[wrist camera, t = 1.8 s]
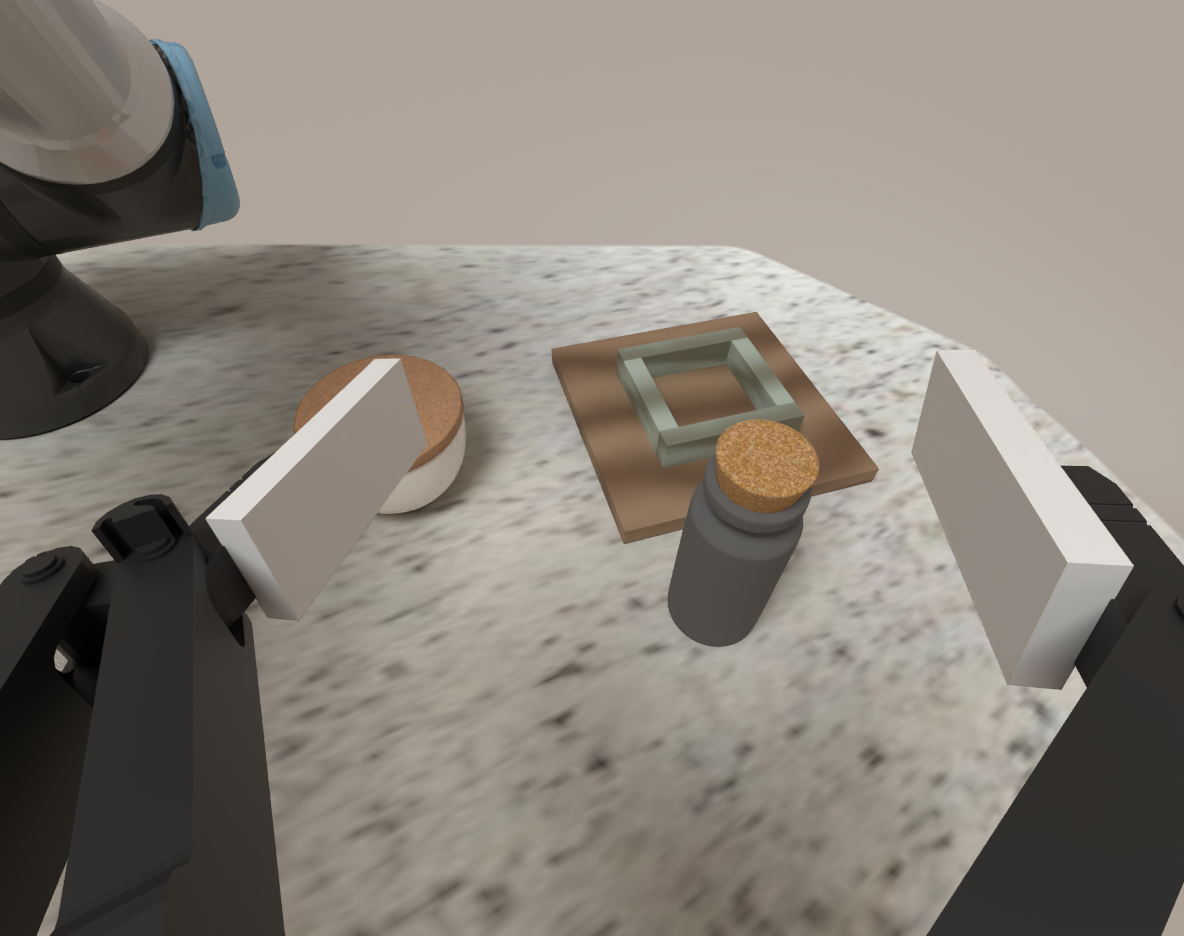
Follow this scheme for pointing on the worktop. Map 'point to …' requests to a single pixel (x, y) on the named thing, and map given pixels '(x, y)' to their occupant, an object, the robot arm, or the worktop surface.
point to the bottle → (741, 530)
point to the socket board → (691, 413)
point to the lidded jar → (438, 420)
